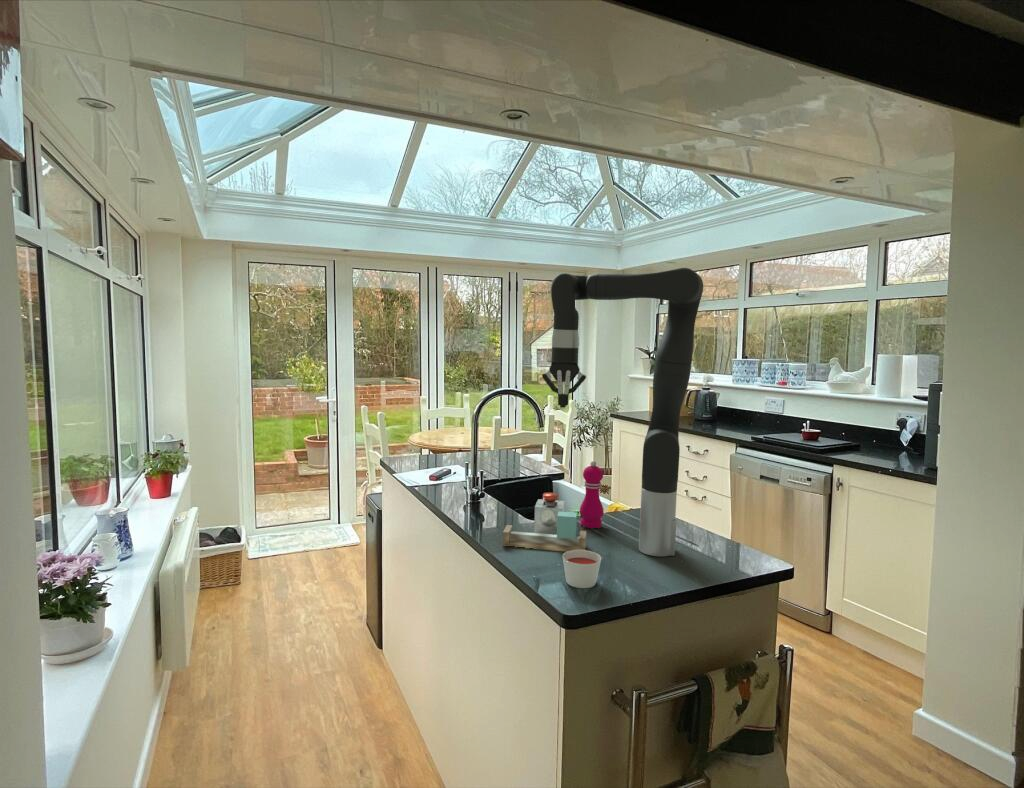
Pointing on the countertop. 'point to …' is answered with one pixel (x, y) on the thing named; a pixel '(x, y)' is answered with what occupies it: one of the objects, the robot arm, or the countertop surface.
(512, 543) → the rail
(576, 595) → the countertop surface
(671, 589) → the countertop surface
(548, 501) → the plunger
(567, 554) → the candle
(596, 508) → the pepper mill
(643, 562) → the countertop surface
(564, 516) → the teal block
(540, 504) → the gauge cabinet
